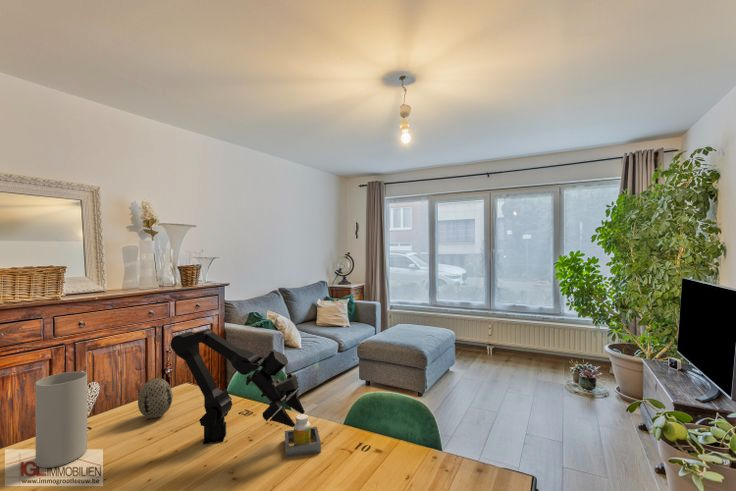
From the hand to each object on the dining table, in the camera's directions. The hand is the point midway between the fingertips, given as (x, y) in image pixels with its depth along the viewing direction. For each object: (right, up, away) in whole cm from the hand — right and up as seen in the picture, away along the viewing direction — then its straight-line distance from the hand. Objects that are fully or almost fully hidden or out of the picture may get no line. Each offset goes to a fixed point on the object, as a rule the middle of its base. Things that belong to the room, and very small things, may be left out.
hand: (299, 419), depth 120 cm
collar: (+1, -9, 0) cm, 9 cm away
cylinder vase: (-74, -10, -6) cm, 75 cm away
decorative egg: (-61, -10, +22) cm, 65 cm away
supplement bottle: (+1, -9, 0) cm, 9 cm away
